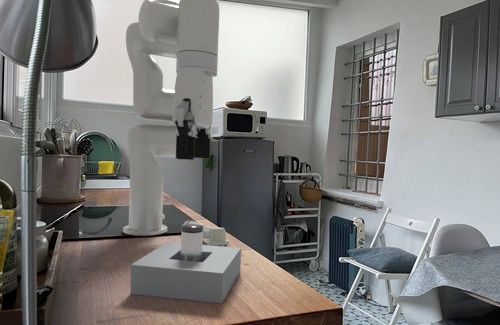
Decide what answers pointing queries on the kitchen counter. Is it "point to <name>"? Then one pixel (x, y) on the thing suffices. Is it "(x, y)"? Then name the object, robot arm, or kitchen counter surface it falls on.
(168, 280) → the socket block
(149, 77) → the robot arm
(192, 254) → the cylinder
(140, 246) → the kitchen counter surface
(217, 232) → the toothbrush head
